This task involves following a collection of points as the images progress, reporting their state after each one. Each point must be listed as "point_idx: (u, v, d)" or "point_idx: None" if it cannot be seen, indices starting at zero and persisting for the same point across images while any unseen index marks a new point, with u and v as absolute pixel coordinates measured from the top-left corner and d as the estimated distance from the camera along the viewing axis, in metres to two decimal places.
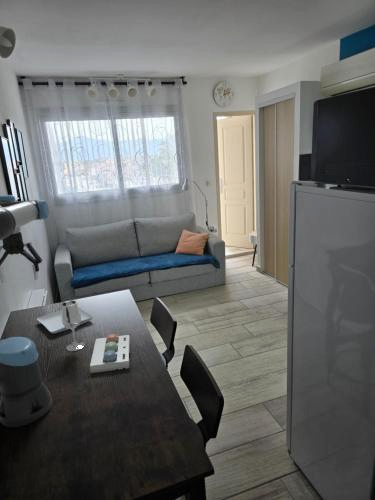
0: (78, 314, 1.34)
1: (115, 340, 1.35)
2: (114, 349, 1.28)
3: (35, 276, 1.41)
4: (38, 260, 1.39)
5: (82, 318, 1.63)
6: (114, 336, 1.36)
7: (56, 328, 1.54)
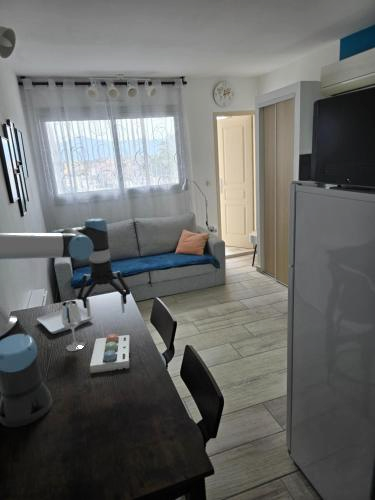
0: (78, 314, 1.34)
1: (115, 340, 1.35)
2: (114, 349, 1.28)
3: (123, 309, 1.25)
4: (127, 291, 1.24)
5: (82, 318, 1.63)
6: (114, 336, 1.36)
7: (56, 328, 1.54)
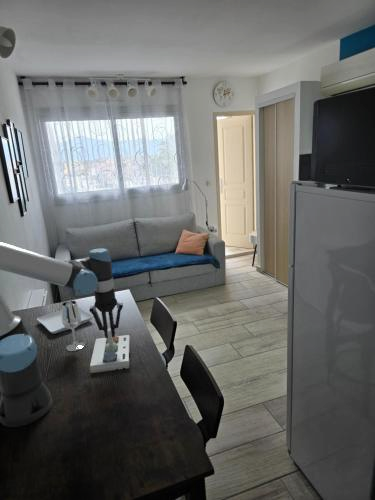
0: (78, 314, 1.34)
1: (115, 340, 1.35)
2: (114, 349, 1.28)
3: (112, 342, 1.28)
4: (117, 325, 1.27)
5: (82, 318, 1.63)
6: None
7: (56, 328, 1.54)
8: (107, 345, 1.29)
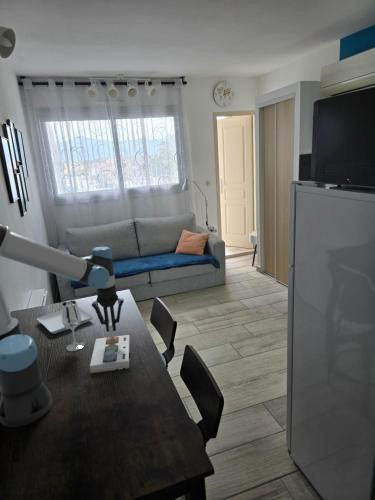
0: (78, 314, 1.34)
1: (115, 342, 1.35)
2: (115, 351, 1.29)
3: (113, 336, 1.34)
4: (117, 319, 1.33)
5: (82, 318, 1.63)
6: (114, 338, 1.36)
7: (56, 328, 1.54)
8: (107, 347, 1.29)
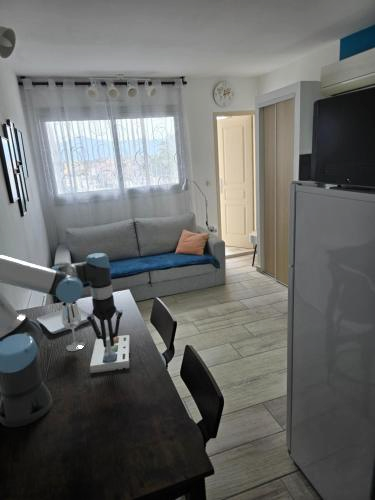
0: (78, 314, 1.34)
1: (115, 342, 1.35)
2: (115, 351, 1.29)
3: (110, 351, 1.21)
4: (116, 333, 1.20)
5: (82, 318, 1.63)
6: (114, 338, 1.36)
7: (56, 328, 1.54)
8: None
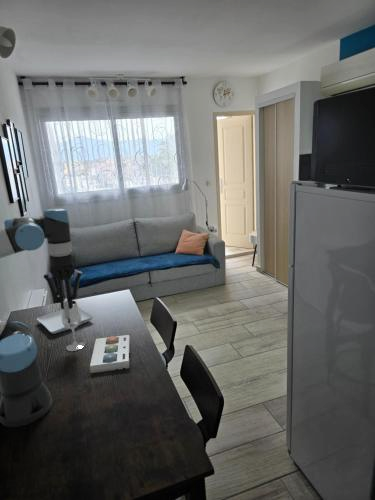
0: (78, 314, 1.34)
1: (115, 342, 1.35)
2: (115, 351, 1.29)
3: (68, 314, 1.16)
4: (74, 295, 1.15)
5: (82, 318, 1.63)
6: (114, 338, 1.36)
7: (56, 328, 1.54)
8: (107, 347, 1.29)
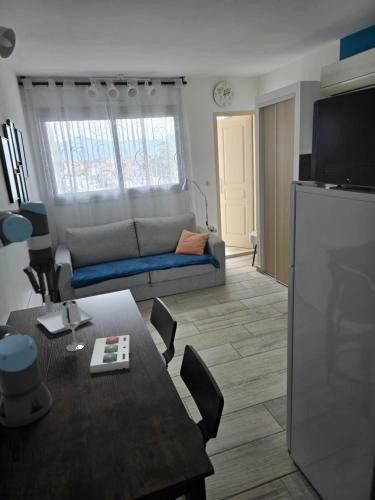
0: (78, 314, 1.34)
1: (115, 342, 1.35)
2: (115, 351, 1.29)
3: (50, 307, 1.15)
4: (55, 288, 1.14)
5: (82, 318, 1.63)
6: (114, 338, 1.36)
7: (56, 328, 1.54)
8: (107, 347, 1.29)
